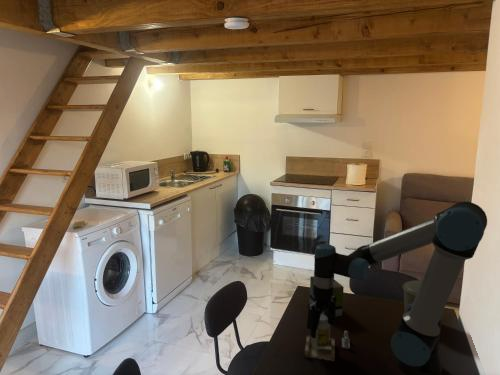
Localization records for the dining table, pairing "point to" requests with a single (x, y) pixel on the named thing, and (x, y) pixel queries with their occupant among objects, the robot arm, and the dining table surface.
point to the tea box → (336, 292)
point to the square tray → (320, 350)
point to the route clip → (346, 341)
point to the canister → (410, 291)
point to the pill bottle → (323, 331)
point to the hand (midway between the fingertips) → (320, 341)
